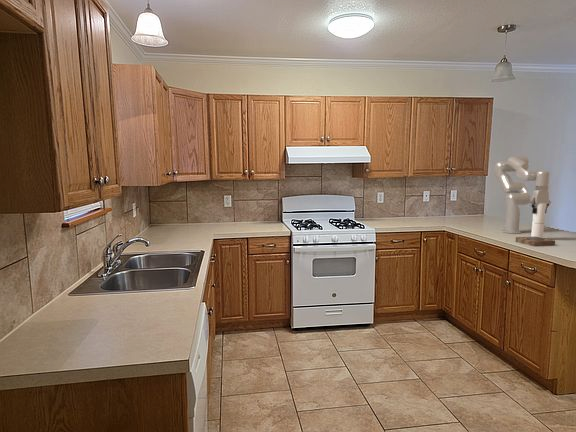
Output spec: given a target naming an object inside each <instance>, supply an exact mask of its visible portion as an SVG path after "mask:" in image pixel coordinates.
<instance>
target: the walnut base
mask: <svg viewBox="0 0 576 432" xmlns="http://www.w3.org/2000/svg"><path fill="white" fill-rule="evenodd" d="M515 242H516V243H520V244H524V245H527V246H531V247H548V246H556V240H553V239H550V238H549V239H548V238H544V237H543V238H541V237H536V236H535V237H531V236H516V237H515Z"/></svg>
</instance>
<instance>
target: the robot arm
mask: <svg viewBox="0 0 576 432" xmlns="http://www.w3.org/2000/svg"><path fill="white" fill-rule="evenodd" d="M528 169H529V159H528V157H526V156H524V155H520V156H519V155H513V156H510V157H509V158H508V159H507V160H502V161H497V162H496V163H495V164H494V167H493V172H494V175H495V177H496V178H497V180H498V182H499V183H500V186H501V188H502V190H503V192H504V193H505V194H506V196H505V199H504V200H505V222H504V223H505V224H504V225H503V226H502V229H503V230H502V232H503V233H505V234H512V235H513V234H515V235H516V234H521V233H522V232H521V230H520V215H521V209H520V207H519V205H520V206H521V205H522V206H524V205H528V204H530V207H531V208H532V210H531V212H532V214H533V213H534V214H536V213H537V208H536V207H537V205H538V204H543V203H546V211H545V214H547V209H548V207H549V206H550V204H551V203H552V201H551V200H550V199H549V198H550V196H549V195H550V192H549V188H550V187H549V181H550V172H549V171H547V170H528ZM509 172H510V173H511V172H516V175H517V177H518V178H520V179H521V180H522V181H525V182H535V187H534V190H533V192H532V196H531V194H530V193H529V191H528V188H527V186H526V185H525V183H524V182H522V181H514V180H513V179H512V177H511V176H510V175H509V174H508V173H509ZM535 203H536V204H535Z"/></svg>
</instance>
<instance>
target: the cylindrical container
mask: <svg viewBox="0 0 576 432" xmlns="http://www.w3.org/2000/svg"><path fill="white" fill-rule="evenodd" d="M535 204H536V203H535ZM536 208H537V213H536V214H534V213H532V223H531V232H530V233H531V234H530V237H535V236H536V237H541V238H544V232H545V231H544V230H545V229H544V228H545V219H546V213H545V211H546V203H543V204H538V205H537V207H536ZM546 212H547V211H546Z"/></svg>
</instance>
